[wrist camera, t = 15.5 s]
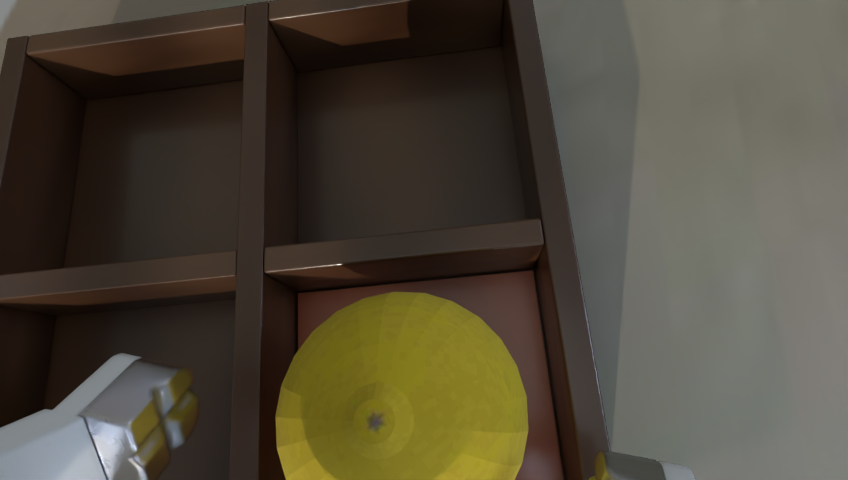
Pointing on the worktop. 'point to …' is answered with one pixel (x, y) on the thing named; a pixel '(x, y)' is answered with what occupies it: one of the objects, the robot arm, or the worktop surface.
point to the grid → (285, 207)
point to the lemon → (402, 396)
